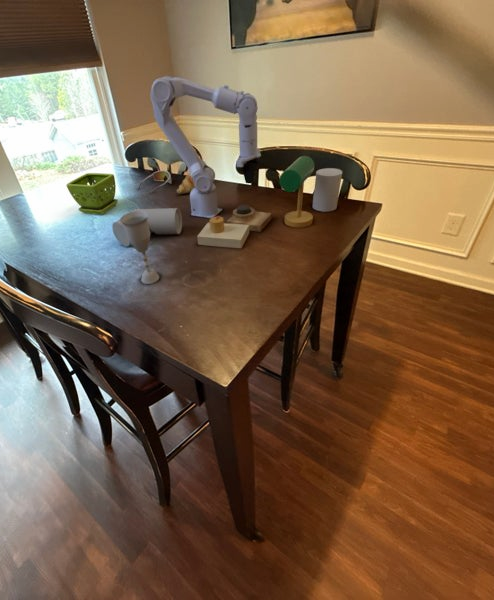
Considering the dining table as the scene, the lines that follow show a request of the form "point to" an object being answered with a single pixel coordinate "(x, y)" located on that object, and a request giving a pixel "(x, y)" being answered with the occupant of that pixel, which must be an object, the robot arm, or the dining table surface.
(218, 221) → the dimmer knob
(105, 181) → the flower pot
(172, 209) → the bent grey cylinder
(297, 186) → the bracelet display stand
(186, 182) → the croissant
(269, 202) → the dining table surface
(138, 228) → the chalice
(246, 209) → the button
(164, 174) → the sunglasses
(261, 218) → the switch box
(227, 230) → the dimmer panel
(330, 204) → the light grey upright cylinder
